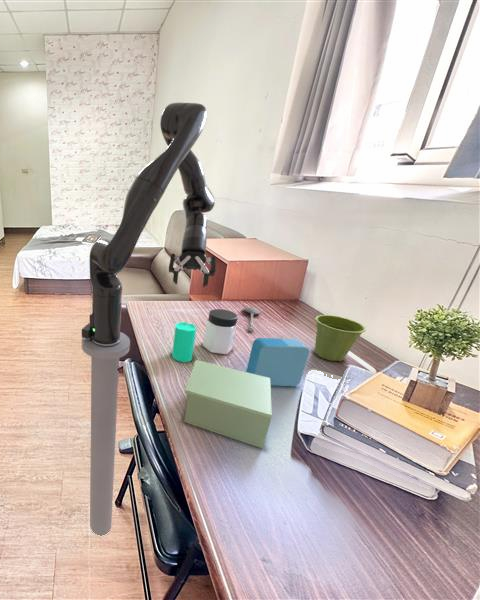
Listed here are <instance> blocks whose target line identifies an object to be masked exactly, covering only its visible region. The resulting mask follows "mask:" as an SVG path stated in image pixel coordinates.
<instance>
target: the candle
mask: <svg viewBox="0 0 480 600" xmlns="http://www.w3.org/2000/svg"><path fill="white" fill-rule="evenodd" d="M174 327H175V328H174V336H173V345H172V352H171V357H172V359H173V360H176V361H178V362H182V363H189V362H191V361H192V360H193V354H194V348H195V340H196V333H197V327H196V326H195V325H194V324H193V323H188V321H186V322H184V321H181V322H177V323H175V326H174Z"/></svg>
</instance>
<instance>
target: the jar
mask: <svg viewBox="0 0 480 600" xmlns="http://www.w3.org/2000/svg"><path fill="white" fill-rule="evenodd" d="M238 318H239V317H238V315H237V314H236V313H235V312H234V311H231V310H227V309H222V308H216V309H215V308H214V309H211V310H210V311H209V312H208V319H206V322H205V329H204V335H203V342H202V347H204V348H205V349H206V350H208V351H209V352H210V353H212V354H218V355H219V354H220V355H228V354H229V353H230V352H231V350H233V348H234V341H235V337H236V333H237V328H238Z"/></svg>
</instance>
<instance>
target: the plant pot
mask: <svg viewBox="0 0 480 600" xmlns="http://www.w3.org/2000/svg"><path fill="white" fill-rule="evenodd" d="M314 319H315V321H316V333H315V345H314V353H315V354H316V355H317V356H318V357H319V358H322V359H324V360H327V361H330V362H336V361H338V362H342V361H344V360H345V358H346V356H347V354H348V353H349V352H350V350H351V349H352V347H353V345H354V344H355V342H356V341H357V340H358V338H360V337H361V335H362V333H365V332H366V331H367V327H365V326H364V325H363V324H362V323H360V322H359V321H355V320H353V319H349V318H347V317H342V316H337V315H331V314H320V315H317V316H315V318H314Z"/></svg>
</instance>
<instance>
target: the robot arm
mask: <svg viewBox="0 0 480 600" xmlns="http://www.w3.org/2000/svg"><path fill="white" fill-rule="evenodd" d="M207 116H208V111H207V108H206V106H205V105H204V104H203V103H197V102H171V103H169V104H168V105H166V106H165V108H164V109H163V110H162V113H161V116H160V123H159V127H160V131H161V132H160V133H161V135H162V138H163V139H164V141H165V144H166V145H167V146H166V147H167V148H165V149H164V151H162V152H161V153H160V154H159V155H158V156H156V157H155V158H154V159H152V160H151V161H150V162H149V163H148V164H146V165H145V166H144V167H142V169H141V170H140V171H139V172H138V173H137V175H136V176H135V178H134V180H133V181H132V184H131V185H130V187H129V189H128V192H127V193H126V196H125V200H124V205H123V212H122V217H121V221H120V224H119V226H118V228H117V230H116V232H115V233H114V235H113V236H112V238H111V239H109V238H100V239H98V240H96V241H95V242H94V243H93V244H92V246H91V248H90V252H89V280H90V284H91V290H92V291H91V293H92V294H91V295H92V296H91V297H92V298H91V300H92V301H91V305H92V306H91V313H90V314H89V322H88V323H87V324H86V325H85V326H84V327H82V328H81V338H82V337H83V338H86V339H89V338H90V340H89V341H91V342H93V343H94V344H95V345H97V346H100V347H113V346H116V345H118V344H119V343H120V332H121V325H122V324H121V323H122V299H123V284H122V282H121V280H120V278H119V275H118V274H120V273H121V272H122V271H123V270H124V269H125V268H126V267H127V265H128V263H129V261H130V259H131V257H132V254H133V252H134V251H135V248H136V246H137V243H138V241H139V239H140V237H141V235H142V233H143V231H144V230H145V228H146V226H147V224H148V222H149V220H150V218H151V217H152V215H153V212H154V211H155V210H156V208H157V206H158V204H159V203H160V201H161V199H162V198H163V196H164V194H165V192H166V190H167V188H168V186H169V184H170V183H171V181H172V179H173V177H174V176H175V174H176V173H177V171H178V173H179V176H180V179H181V183H182V184H181V185H182V187H183V192H184V193H185V194H186V196H184V198H183V200H182V209H183V212H184V217H185V225H184V232H183V236H182V244H181V250H180V251H181V252H180V255H176V254H175V253H171V254H170V261H169V264H168V273H172V274H173V277H172V283H174V285H175V286H176V285H178V279H179V273H181V272H183V271H184V270H185V269H186V270H194V271H197V270H198V271H199V272H200V273H201V274H202V275H203V277H202V278H203V279H202V287H203V288H206V287H207V286H208V284H209V278H210V277H214V276H215V275H216V274H215V273H216V271H217V270H216V267H217V265H216V263H217V261H216V260H217V259H216V256H215V255H213V256H211V257H207V255H206V251H207V238H208V237H207V236H208V235H207V234H208V233H207V229H208V217H207V215H206V214H205V213H210V212H211V211H212V210H213V209H214V207H215V204H216V201H215V200H216V199H215V197H214V196H215V195H214V194H213V192H212V191H211V189H210V188H209V186H208V184H207V182H206V176H205V171H204V168H203V167H204V166H203V165H202V163H201V161H200V160H199V158H198V157H197V156H196V154H195V153H194V152H193V150H192V148H193V146H194V145H195V144H196V143H197V141H198V140H199V138H200V136H201V134H202V133H203V130H204V129H205V125H206V122H207V120H208V119H207ZM177 261H179V263H178V265H177V266H176V267H174V265H175V263H176V262H177ZM205 263H207V264H208V265H210V270H209V269H208V268H207V266H206V264H205Z"/></svg>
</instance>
